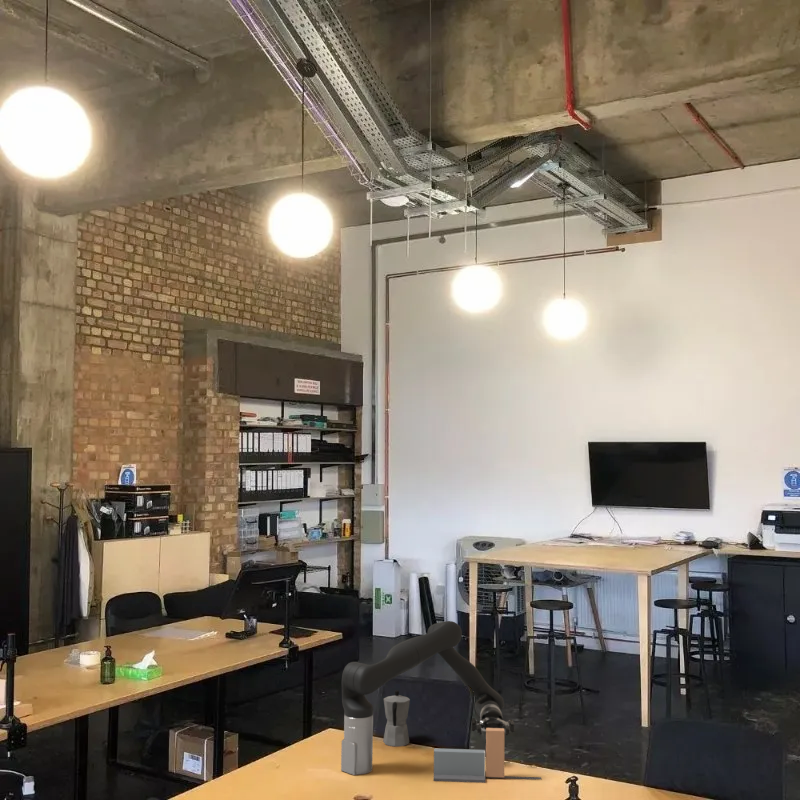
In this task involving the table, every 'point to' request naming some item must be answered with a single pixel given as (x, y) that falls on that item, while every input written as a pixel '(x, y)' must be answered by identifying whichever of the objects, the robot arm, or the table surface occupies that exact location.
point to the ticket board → (462, 766)
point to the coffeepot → (396, 720)
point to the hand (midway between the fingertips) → (493, 731)
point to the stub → (494, 752)
